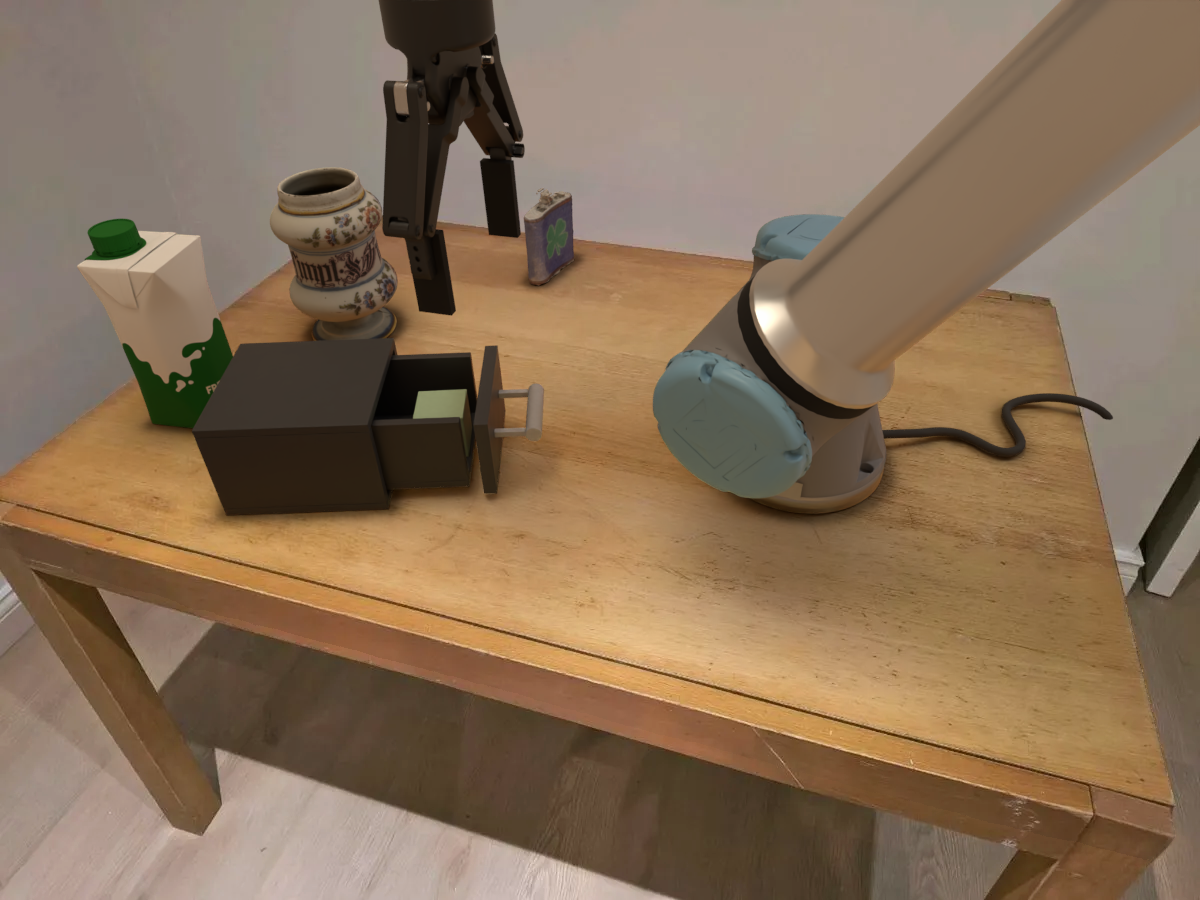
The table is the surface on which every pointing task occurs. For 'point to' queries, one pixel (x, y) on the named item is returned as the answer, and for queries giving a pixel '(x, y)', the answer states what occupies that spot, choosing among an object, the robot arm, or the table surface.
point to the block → (446, 409)
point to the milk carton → (160, 315)
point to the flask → (549, 236)
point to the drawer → (446, 421)
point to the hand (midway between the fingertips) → (473, 270)
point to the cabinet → (297, 427)
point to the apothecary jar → (335, 254)
